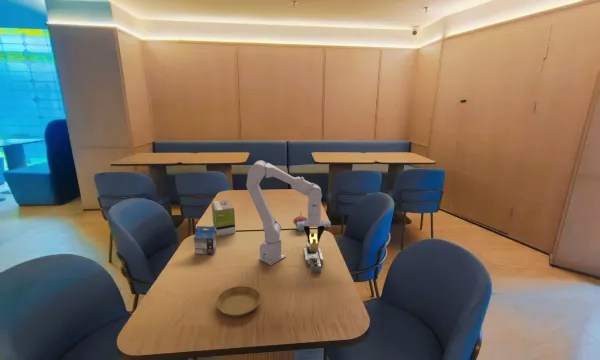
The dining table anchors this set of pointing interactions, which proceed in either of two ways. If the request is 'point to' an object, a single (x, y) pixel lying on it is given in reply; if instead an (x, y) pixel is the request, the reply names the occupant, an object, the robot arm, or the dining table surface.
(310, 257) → the chain
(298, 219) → the cupcake
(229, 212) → the tea box
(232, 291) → the plant saucer
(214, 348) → the dining table surface
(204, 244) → the blue and white carton
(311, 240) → the brass link
